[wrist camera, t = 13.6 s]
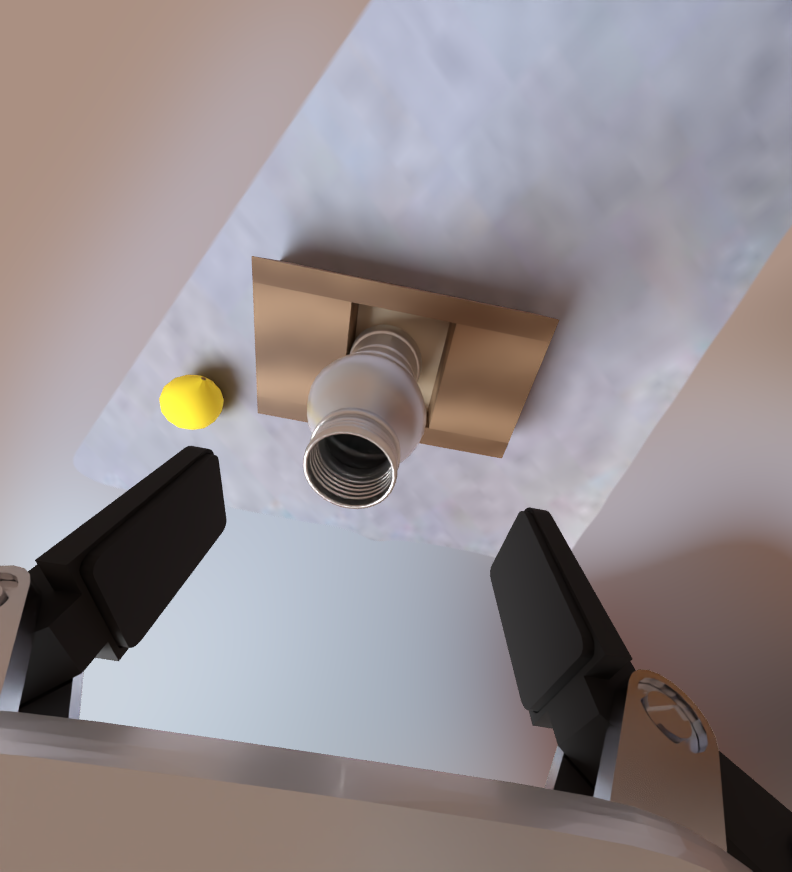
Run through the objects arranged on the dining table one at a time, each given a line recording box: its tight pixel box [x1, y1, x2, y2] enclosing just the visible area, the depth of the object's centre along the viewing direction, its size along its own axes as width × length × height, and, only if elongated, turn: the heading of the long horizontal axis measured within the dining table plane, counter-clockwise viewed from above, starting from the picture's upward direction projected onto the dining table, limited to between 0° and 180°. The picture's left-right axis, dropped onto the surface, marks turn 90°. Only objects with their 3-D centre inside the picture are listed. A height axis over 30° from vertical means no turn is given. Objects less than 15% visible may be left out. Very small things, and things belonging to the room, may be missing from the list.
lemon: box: [159, 375, 224, 430], centre depth 31 cm, size 7×5×5 cm
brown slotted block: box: [252, 256, 559, 458], centre depth 28 cm, size 13×24×5 cm, turn 80°
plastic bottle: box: [303, 324, 427, 509], centre depth 20 cm, size 6×7×20 cm
